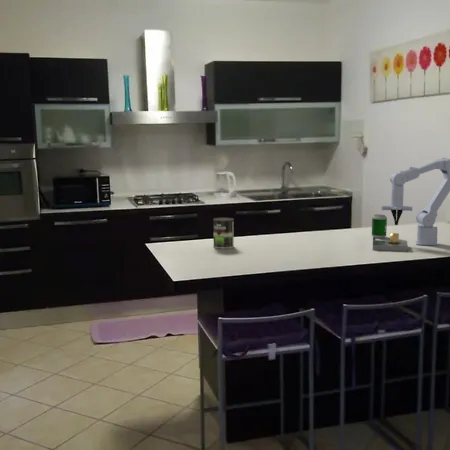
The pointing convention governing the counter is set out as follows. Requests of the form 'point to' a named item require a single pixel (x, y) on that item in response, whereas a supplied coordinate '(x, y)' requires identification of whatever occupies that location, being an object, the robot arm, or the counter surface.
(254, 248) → the counter surface
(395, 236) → the bushing
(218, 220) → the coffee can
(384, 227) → the soda can
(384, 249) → the jig
